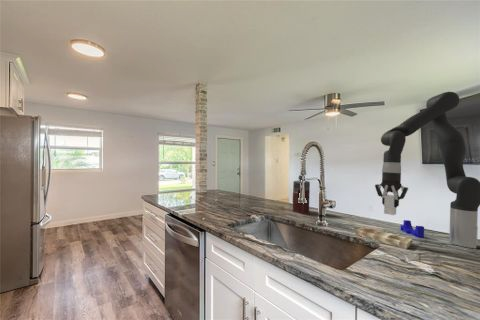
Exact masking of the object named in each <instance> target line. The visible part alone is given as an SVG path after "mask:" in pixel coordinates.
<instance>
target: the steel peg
mask: <svg viewBox="0 0 480 320" xmlns="http://www.w3.org/2000/svg"><path fill="white" fill-rule="evenodd" d="M383 207H384V208H383V214H384V215H390V216H396V215H397V207H395V196H394V194H393V195H392V194H387V195H385V200H384V205H383Z"/></svg>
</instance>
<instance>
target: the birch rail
mask: <svg viewBox="0 0 480 320" xmlns="http://www.w3.org/2000/svg"><path fill="white" fill-rule="evenodd" d="M354 232H355V233H354V234H355V235H356V236H357V237H361V236H362V238H364V239H369V240H372V241H376V242H379V243H383V244H387V245H390V246H393V247H398V248H400V249H404V250H407V249H408V248H410V247H411V246H412V245H413V238H410V237H406V236H403V235H397V234H394V233H391V232H386V231H381V230H378V229H373V228H369V227H365V226H362V227H359V228H357V229H355V231H354Z"/></svg>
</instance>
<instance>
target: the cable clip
mask: <svg viewBox="0 0 480 320" xmlns="http://www.w3.org/2000/svg"><path fill="white" fill-rule="evenodd" d="M400 231H402V232H404V233H406V234H410V235H412V236H414V237H415V238H417V239H418V238H419V239H424V238H425V237H424V236H425V226H423V225H415V229H414V228H413V225H412V221H411V220H406V219H404V220H403V224H400Z"/></svg>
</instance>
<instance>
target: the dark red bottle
mask: <svg viewBox="0 0 480 320" xmlns="http://www.w3.org/2000/svg"><path fill="white" fill-rule="evenodd" d="M301 175H302V174H299V176H298V180H294V181H292V182H293V184H292V185H293V188H292V213H297V214H301V215H302V214H308V213H310V186H311V185H310V184H311V182H310V181H309V180H304V181H305V198H306V200H307V203H304V204H303V203H298V198H299V193H300V183H301V180H302V176H301ZM304 178H305V179H306V176H305V175H304Z"/></svg>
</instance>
